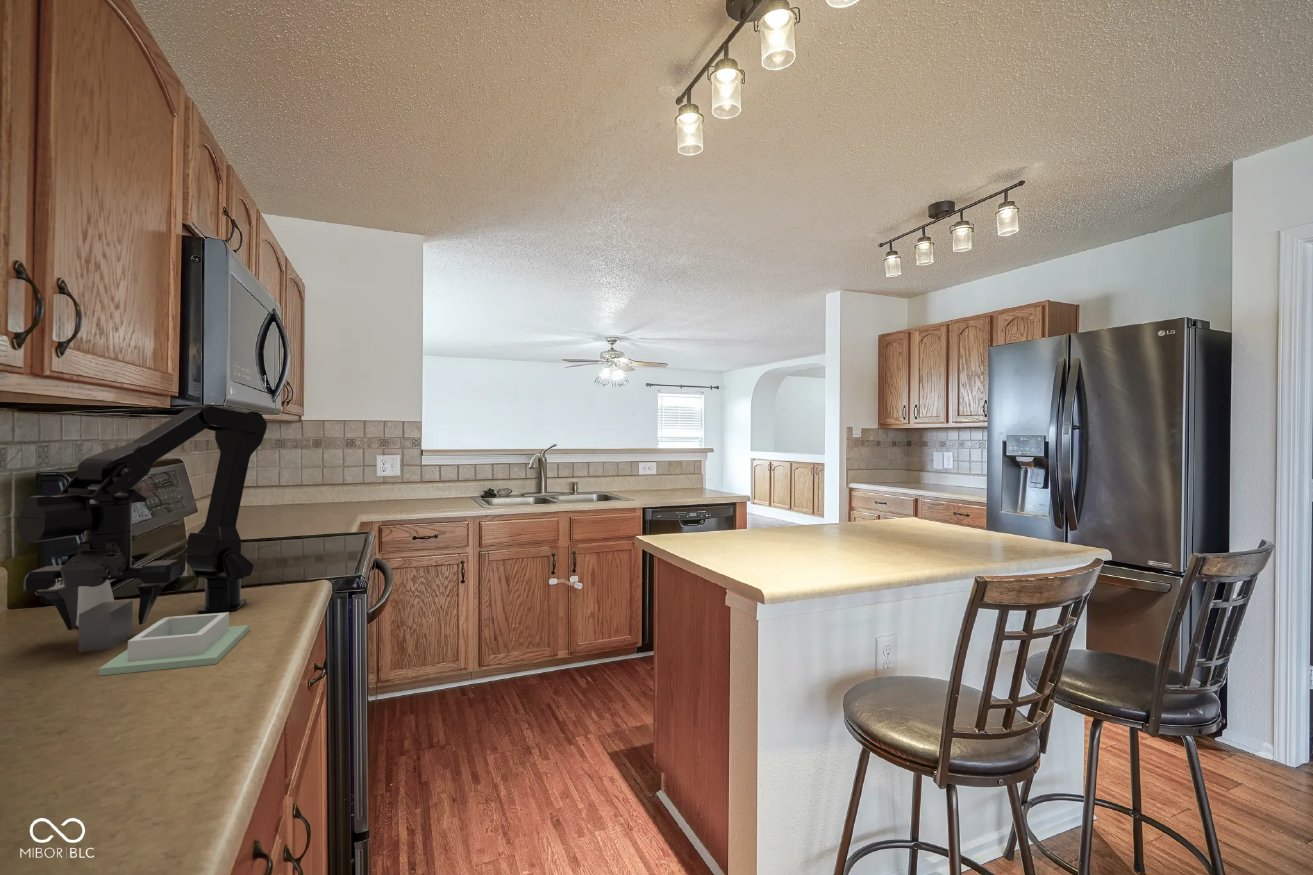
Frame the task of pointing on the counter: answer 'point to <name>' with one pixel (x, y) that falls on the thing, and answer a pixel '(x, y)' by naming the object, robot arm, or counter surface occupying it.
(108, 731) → the counter surface
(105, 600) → the salt shaker
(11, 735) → the counter surface
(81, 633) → the chute block
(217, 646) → the deck plate
